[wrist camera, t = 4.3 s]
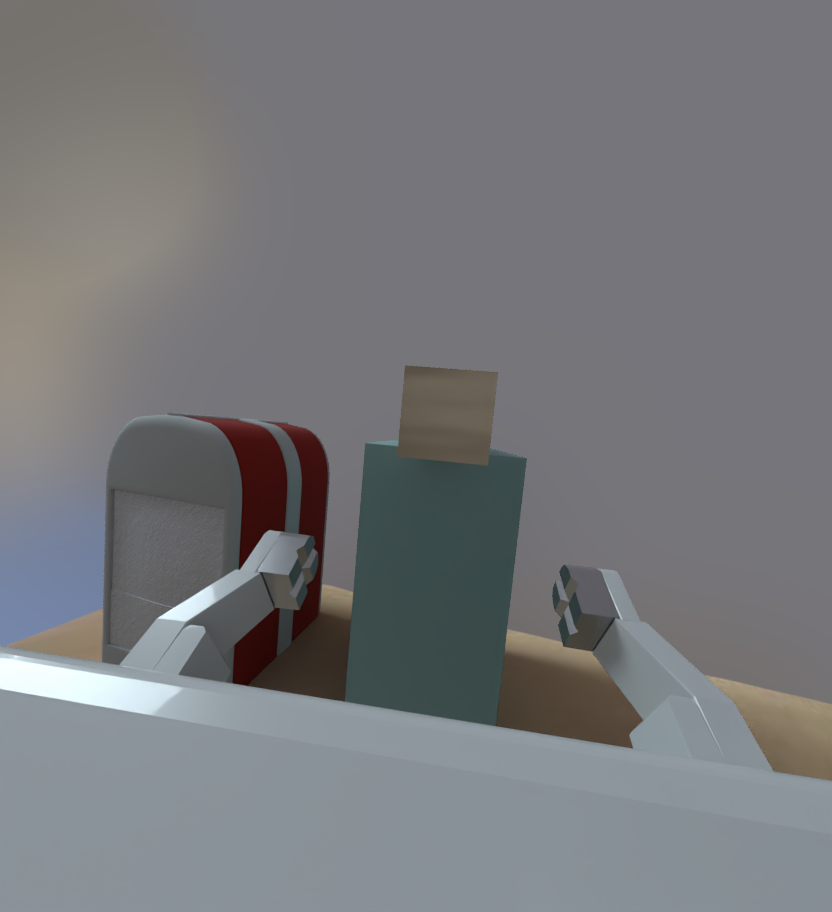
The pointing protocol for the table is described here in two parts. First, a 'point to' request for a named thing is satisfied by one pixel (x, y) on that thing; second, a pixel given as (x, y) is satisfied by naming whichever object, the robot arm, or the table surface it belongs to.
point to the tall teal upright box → (433, 583)
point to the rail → (447, 414)
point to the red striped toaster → (206, 522)
